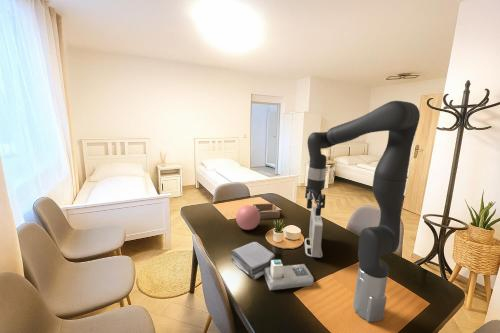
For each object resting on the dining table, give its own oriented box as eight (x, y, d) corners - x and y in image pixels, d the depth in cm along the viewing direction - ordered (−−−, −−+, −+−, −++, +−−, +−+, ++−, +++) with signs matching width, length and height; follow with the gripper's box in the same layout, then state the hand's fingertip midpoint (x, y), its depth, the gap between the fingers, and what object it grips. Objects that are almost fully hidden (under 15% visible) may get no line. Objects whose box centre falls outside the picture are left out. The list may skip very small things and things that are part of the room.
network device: (323, 262, 112) (327, 225, 108) (305, 260, 114) (309, 223, 110) (318, 237, 136) (322, 206, 133) (304, 235, 138) (306, 205, 134)
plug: (281, 284, 95) (283, 263, 94) (272, 285, 95) (273, 264, 93) (278, 277, 99) (280, 257, 97) (270, 278, 99) (271, 258, 97)
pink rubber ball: (268, 226, 149) (269, 204, 146) (248, 237, 135) (249, 212, 132) (251, 219, 159) (251, 198, 156) (230, 228, 144) (231, 205, 141)
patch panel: (312, 286, 96) (313, 277, 95) (269, 291, 92) (270, 282, 91) (303, 271, 105) (304, 263, 104) (263, 275, 101) (264, 267, 100)
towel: (253, 251, 120) (254, 238, 119) (277, 269, 106) (278, 254, 105) (229, 261, 111) (229, 247, 110) (252, 282, 97) (253, 266, 95)
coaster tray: (279, 217, 163) (279, 211, 162) (257, 219, 160) (257, 212, 159) (272, 209, 179) (273, 203, 178) (252, 210, 176) (253, 204, 175)
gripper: (332, 181, 94) (328, 217, 97) (316, 173, 108) (313, 205, 111) (316, 181, 92) (312, 218, 96) (301, 174, 106) (299, 206, 109)
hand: (313, 211), depth 103 cm, fingers open, 8 cm apart
